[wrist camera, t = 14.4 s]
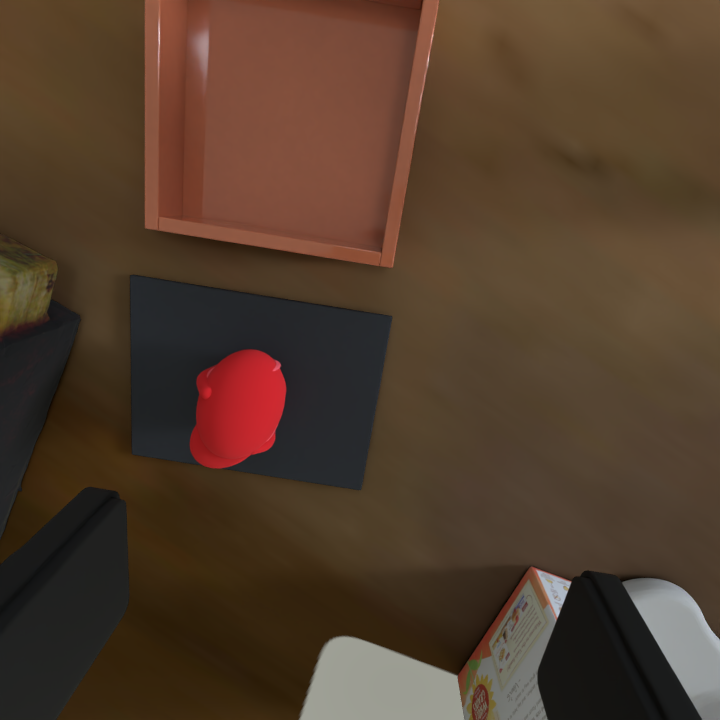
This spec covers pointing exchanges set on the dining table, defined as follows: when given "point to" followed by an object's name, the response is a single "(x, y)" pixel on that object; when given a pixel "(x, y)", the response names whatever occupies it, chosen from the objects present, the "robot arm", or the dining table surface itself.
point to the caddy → (284, 121)
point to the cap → (237, 408)
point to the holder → (682, 639)
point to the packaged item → (27, 358)
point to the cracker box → (513, 653)
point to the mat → (281, 342)
